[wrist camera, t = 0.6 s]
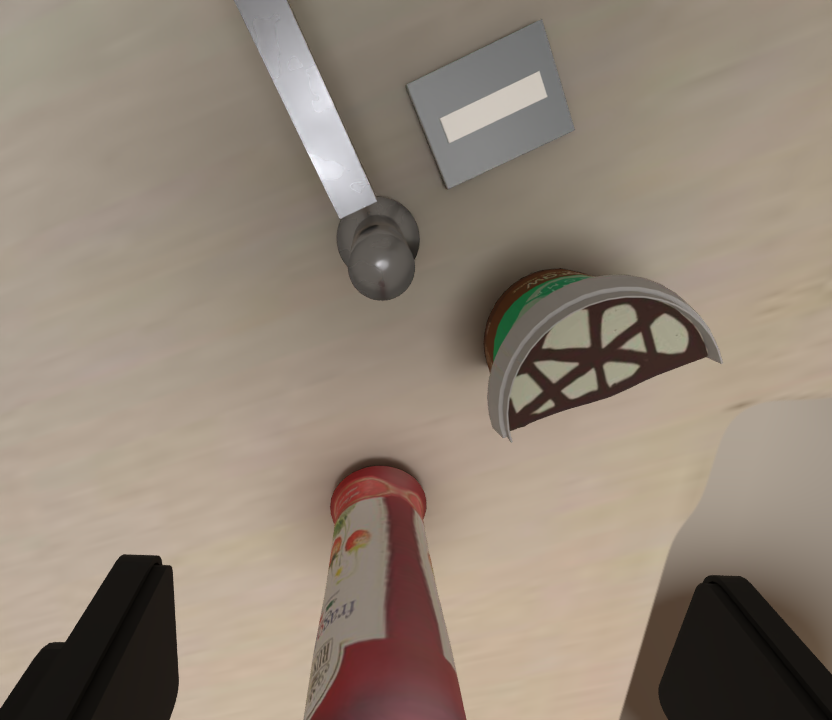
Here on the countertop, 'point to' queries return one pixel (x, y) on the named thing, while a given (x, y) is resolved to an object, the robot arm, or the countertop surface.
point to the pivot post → (379, 248)
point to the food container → (583, 342)
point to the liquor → (381, 610)
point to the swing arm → (308, 102)
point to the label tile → (492, 105)
